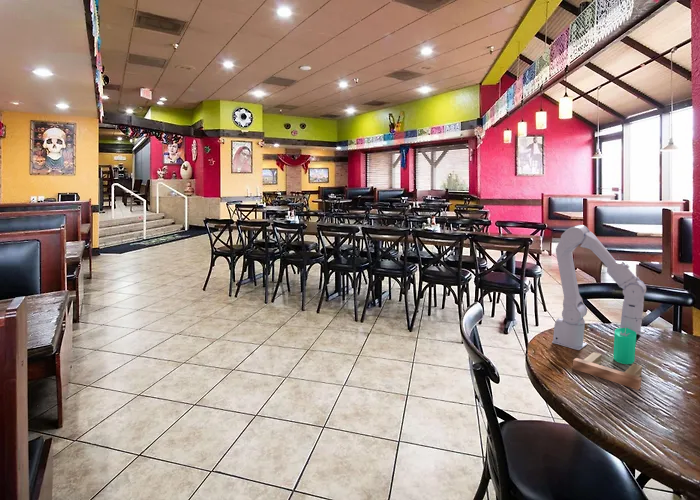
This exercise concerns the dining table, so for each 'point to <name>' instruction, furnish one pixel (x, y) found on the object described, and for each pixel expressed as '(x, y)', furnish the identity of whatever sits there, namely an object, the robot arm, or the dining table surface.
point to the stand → (609, 371)
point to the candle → (624, 346)
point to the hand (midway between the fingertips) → (627, 354)
